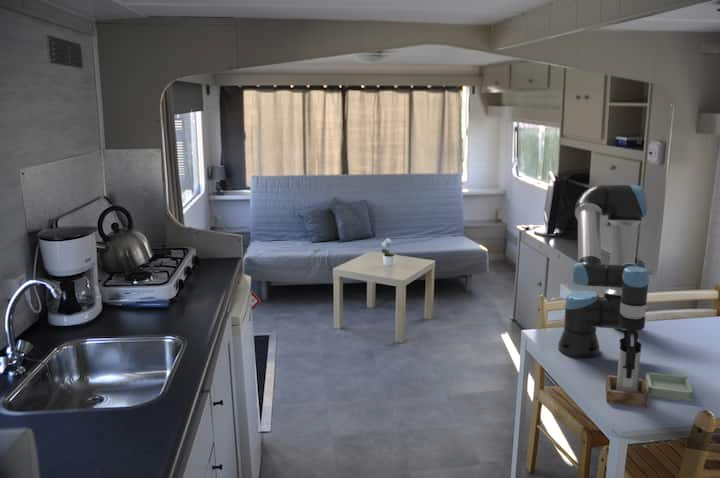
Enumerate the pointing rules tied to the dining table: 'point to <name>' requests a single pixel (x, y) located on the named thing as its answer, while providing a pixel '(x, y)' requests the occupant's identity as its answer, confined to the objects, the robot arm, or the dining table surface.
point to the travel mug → (621, 370)
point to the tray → (668, 386)
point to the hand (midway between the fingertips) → (626, 381)
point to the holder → (626, 393)
